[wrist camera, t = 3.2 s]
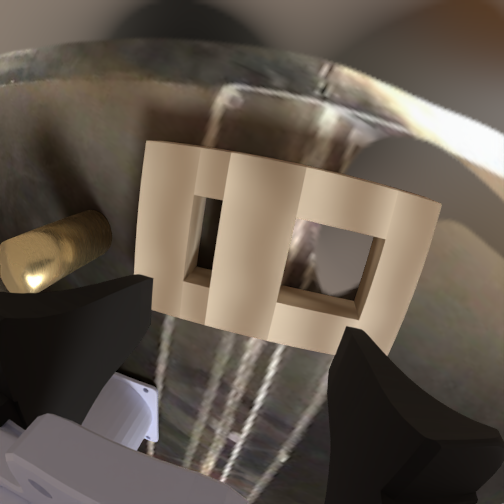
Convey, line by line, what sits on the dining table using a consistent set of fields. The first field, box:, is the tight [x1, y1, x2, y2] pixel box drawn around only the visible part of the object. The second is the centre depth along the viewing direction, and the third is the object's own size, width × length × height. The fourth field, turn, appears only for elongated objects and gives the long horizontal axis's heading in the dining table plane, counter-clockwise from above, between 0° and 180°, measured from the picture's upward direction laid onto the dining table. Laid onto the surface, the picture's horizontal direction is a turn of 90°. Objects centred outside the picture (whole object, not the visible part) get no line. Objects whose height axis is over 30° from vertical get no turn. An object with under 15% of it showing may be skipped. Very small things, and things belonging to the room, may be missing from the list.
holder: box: [134, 141, 442, 356], centre depth 18 cm, size 16×10×2 cm, turn 80°
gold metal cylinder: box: [0, 210, 112, 293], centre depth 18 cm, size 3×3×8 cm
